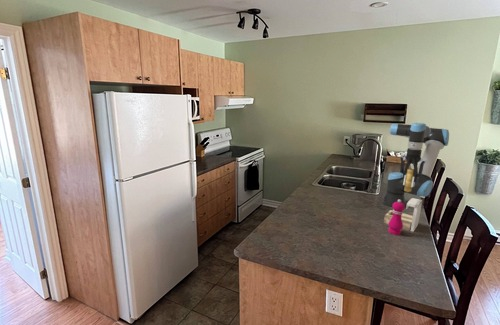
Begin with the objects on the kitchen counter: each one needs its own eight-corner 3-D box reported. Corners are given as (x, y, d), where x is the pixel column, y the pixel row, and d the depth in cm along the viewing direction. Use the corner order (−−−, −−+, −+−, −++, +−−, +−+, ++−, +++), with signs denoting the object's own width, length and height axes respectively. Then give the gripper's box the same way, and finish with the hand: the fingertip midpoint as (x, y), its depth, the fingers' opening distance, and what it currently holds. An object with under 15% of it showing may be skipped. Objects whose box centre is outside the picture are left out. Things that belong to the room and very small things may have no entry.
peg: (405, 189, 171) (408, 168, 168) (412, 191, 168) (415, 169, 165) (402, 190, 169) (406, 169, 166) (409, 192, 166) (413, 170, 163)
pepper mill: (394, 236, 149) (399, 202, 145) (384, 230, 156) (389, 197, 151) (404, 234, 151) (410, 201, 146) (394, 228, 158) (399, 196, 153)
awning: (407, 222, 167) (411, 197, 163) (418, 224, 163) (422, 200, 160) (402, 228, 158) (406, 203, 155) (413, 231, 155) (417, 205, 151)
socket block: (389, 216, 174) (390, 209, 173) (414, 223, 165) (415, 216, 163) (383, 222, 165) (384, 215, 164) (409, 230, 156) (410, 222, 155)
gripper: (397, 147, 166) (391, 183, 172) (428, 151, 154) (421, 190, 159) (402, 146, 171) (396, 181, 176) (432, 150, 159) (426, 188, 164)
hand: (408, 185), depth 168 cm, fingers closed on peg, 4 cm apart
